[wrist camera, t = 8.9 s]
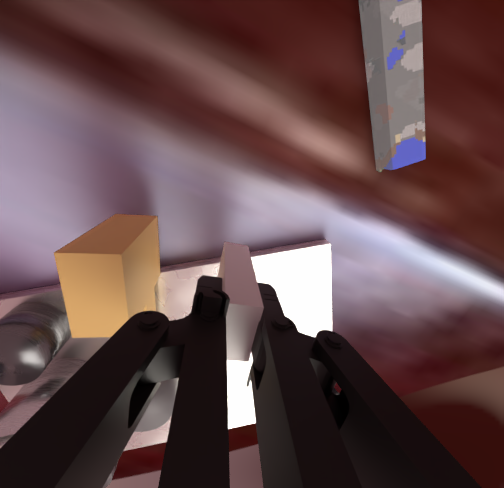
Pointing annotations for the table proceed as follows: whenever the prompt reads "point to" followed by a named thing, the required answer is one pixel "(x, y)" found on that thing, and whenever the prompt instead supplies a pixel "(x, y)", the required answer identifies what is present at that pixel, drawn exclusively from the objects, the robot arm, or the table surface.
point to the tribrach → (167, 302)
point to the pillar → (394, 80)
